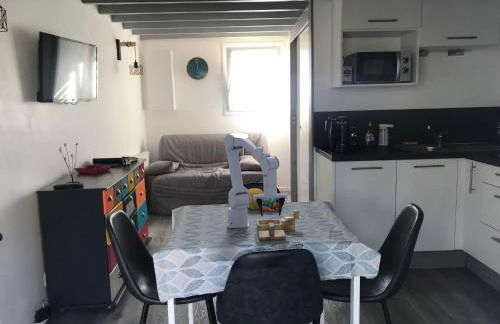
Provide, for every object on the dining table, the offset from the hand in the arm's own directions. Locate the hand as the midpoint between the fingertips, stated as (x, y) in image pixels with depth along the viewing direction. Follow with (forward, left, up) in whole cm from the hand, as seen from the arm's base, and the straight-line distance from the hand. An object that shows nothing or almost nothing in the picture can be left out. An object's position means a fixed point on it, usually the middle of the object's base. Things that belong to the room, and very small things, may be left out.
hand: (270, 215), depth 193 cm
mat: (0, -4, -9) cm, 10 cm away
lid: (0, -4, -8) cm, 9 cm away
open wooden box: (+3, +8, -9) cm, 13 cm away
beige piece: (+11, +8, -4) cm, 14 cm away
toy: (-2, +51, -10) cm, 52 cm away
